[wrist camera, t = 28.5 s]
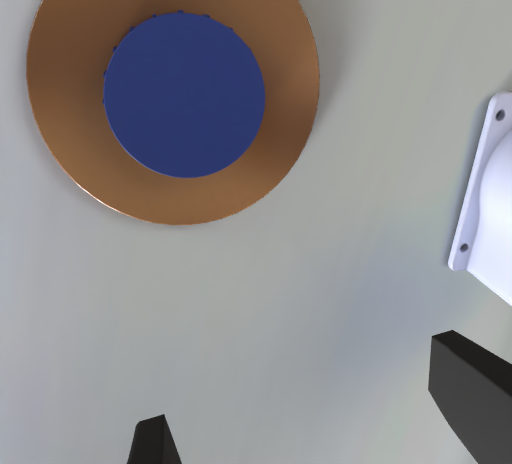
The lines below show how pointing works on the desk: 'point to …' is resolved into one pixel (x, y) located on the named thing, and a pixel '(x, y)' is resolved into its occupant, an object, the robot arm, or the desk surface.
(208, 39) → the lid
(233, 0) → the coaster
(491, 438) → the robot arm
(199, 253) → the desk surface
